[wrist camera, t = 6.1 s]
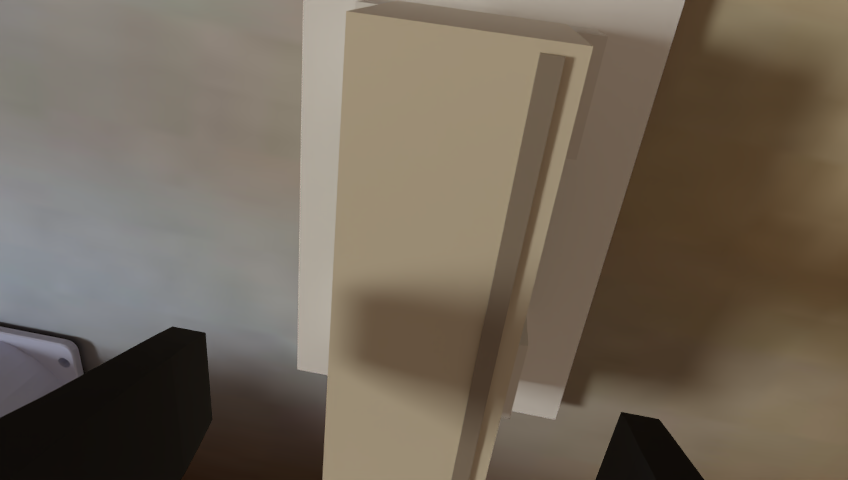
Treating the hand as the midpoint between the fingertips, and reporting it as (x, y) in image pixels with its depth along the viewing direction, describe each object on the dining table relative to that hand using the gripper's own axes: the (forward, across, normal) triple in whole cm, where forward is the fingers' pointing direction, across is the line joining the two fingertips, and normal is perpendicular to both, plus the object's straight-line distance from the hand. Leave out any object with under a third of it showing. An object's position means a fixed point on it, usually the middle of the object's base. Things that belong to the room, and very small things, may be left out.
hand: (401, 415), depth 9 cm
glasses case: (+7, 0, 0) cm, 7 cm away
